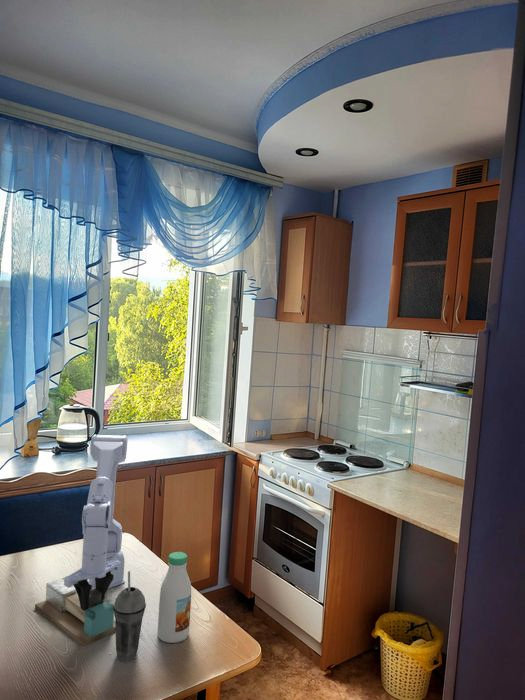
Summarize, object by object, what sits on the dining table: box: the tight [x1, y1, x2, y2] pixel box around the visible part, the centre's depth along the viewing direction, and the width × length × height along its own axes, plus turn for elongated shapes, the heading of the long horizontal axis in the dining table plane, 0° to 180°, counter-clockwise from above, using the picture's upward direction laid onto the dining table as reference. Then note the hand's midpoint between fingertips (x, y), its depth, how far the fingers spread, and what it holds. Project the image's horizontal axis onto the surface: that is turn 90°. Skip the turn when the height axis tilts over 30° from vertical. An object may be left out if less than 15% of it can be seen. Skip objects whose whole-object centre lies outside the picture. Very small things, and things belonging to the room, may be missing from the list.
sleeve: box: [45, 577, 77, 613], centre depth 137 cm, size 5×8×5 cm, turn 50°
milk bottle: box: [157, 551, 192, 644], centre depth 128 cm, size 8×8×20 cm
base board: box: [34, 599, 116, 647], centre depth 133 cm, size 10×23×1 cm, turn 50°
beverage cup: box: [113, 570, 147, 663], centre depth 119 cm, size 7×7×20 cm
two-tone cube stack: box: [64, 588, 102, 622], centre depth 130 cm, size 4×14×7 cm, turn 50°
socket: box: [84, 600, 115, 638], centre depth 126 cm, size 6×3×6 cm, turn 140°
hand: (91, 606), depth 128 cm, fingers closed on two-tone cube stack, 4 cm apart
